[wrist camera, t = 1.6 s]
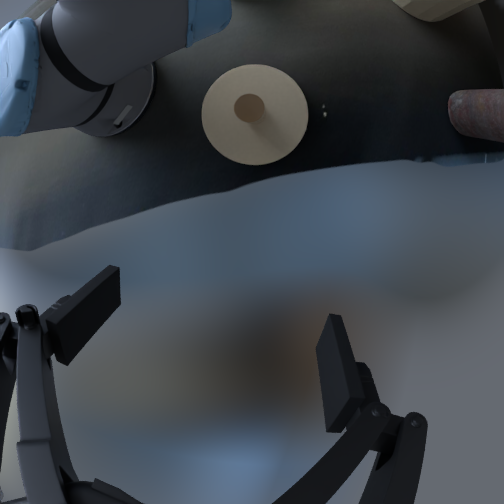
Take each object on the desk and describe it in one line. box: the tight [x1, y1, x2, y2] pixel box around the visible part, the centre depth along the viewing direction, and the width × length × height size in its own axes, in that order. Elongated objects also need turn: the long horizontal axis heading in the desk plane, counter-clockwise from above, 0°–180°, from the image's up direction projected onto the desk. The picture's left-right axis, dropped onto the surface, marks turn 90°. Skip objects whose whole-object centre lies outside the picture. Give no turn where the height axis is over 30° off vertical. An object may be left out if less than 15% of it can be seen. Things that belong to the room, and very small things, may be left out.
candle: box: [448, 89, 504, 142], centre depth 22 cm, size 8×7×20 cm
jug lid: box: [202, 64, 308, 165], centre depth 30 cm, size 14×14×10 cm
